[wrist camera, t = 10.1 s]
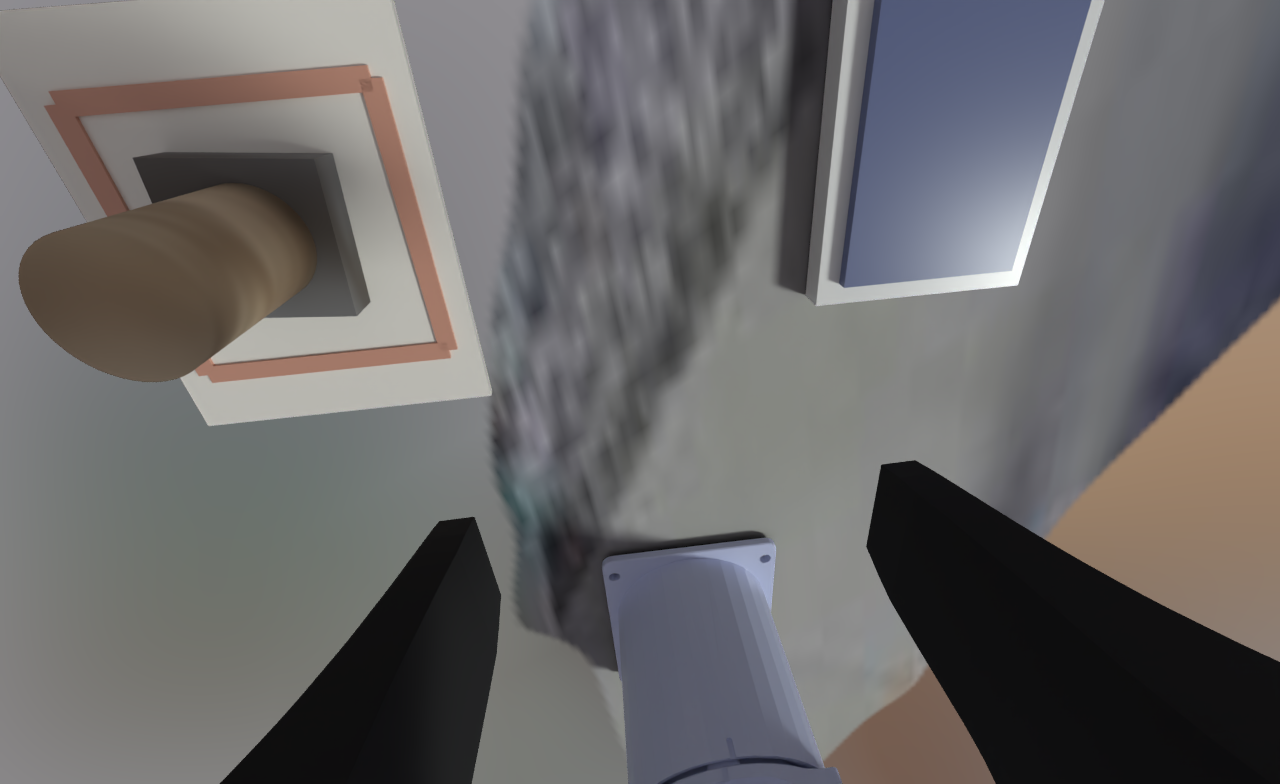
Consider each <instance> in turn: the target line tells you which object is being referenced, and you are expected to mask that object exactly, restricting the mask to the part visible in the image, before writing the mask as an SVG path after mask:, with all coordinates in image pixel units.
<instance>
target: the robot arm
mask: <svg viewBox="0 0 1280 784" xmlns="http://www.w3.org/2000/svg"><path fill="white" fill-rule="evenodd" d="M866 547H867V549H868V552H869V554H870V556H871V559H872V561H873V563H874V566H875V568H876V570H877V573H878V575H879V577H880V579H881V582H882V584H883V586H884V588H885V590H886V592H887V595H888V597H889V599H890V601H891V603H892V604H893V606H894V608H895V609H896V611H897V613H898V615H899V616H900V618H901V620H902V621H903V623H904V625H905V626H906V628H907V630H908V632H909V633H910V635H911V637H912V638H913V640H914V642H915V643H916V645H917V647H918V648H919V650H920V652H921V653H922V655H923V657H924V658H925V660H926V662H927V663H928V665H929V667H930V668H931V670H932V671H933V673H934V675H935V676H936V678H937V679H938V681H939V683H940V685H941V686H942V688H943V689H944V691H945V693H946V695H947V696H948V698H949V700H950V701H951V703H952V705H953V706H954V708H955V710H956V711H957V713H958V715H959V716H960V718H961V719H962V721H963V723H964V725H965V726H966V728H967V730H968V731H969V733H970V735H971V737H972V738H973V740H974V742H975V744H976V746H977V747H978V749H979V751H980V753H981V755H982V756H983V759H984V760H985V762H986V764H987V766H988V768H989V771H990V773H991V775H992V776H993V779H994V781H995V783H996V784H1280V662H1278V661H1276V660H1274V659H1272V658H1270V657H1268V656H1265V655H1263V654H1261V653H1259V652H1257V651H1255V650H1253V649H1250V648H1248V647H1246V646H1244V645H1242V644H1240V643H1238V642H1235V641H1234V640H1231V639H1230V638H1227V637H1225V636H1223V635H1221V634H1219V633H1217V632H1215V631H1213V630H1211V629H1209V628H1207V627H1205V626H1203V625H1201V624H1199V623H1197V622H1195V621H1193V620H1191V619H1189V618H1187V617H1185V616H1183V615H1181V614H1179V613H1177V612H1175V611H1173V610H1171V609H1169V608H1167V607H1165V606H1163V605H1161V604H1159V603H1157V602H1155V601H1153V600H1151V599H1150V598H1148V597H1146V596H1144V595H1142V594H1140V593H1138V592H1136V591H1134V590H1133V589H1131V588H1129V587H1127V586H1125V585H1124V584H1122V583H1120V582H1118V581H1116V580H1114V579H1113V578H1111V577H1109V576H1107V575H1105V574H1104V573H1102V572H1100V571H1098V570H1096V569H1095V568H1093V567H1091V566H1089V565H1087V564H1086V563H1084V562H1082V561H1080V560H1079V559H1077V558H1075V557H1073V556H1072V555H1070V554H1068V553H1067V552H1065V551H1063V550H1061V549H1060V548H1058V547H1056V546H1055V545H1053V544H1051V543H1050V542H1048V541H1046V540H1045V539H1043V538H1041V537H1039V536H1038V535H1036V534H1035V533H1033V532H1031V531H1030V530H1028V529H1026V528H1025V527H1023V526H1021V525H1020V524H1018V523H1016V522H1015V521H1013V520H1012V519H1010V518H1008V517H1007V516H1005V515H1003V514H1002V513H1000V512H999V511H997V510H995V509H994V508H992V507H991V506H989V505H987V504H986V503H984V502H983V501H981V500H979V499H978V498H976V497H975V496H973V495H971V494H970V493H968V492H967V491H965V490H963V489H962V488H960V487H959V486H957V485H955V484H954V483H952V482H951V481H949V480H947V479H946V478H944V477H943V476H941V475H939V474H938V473H936V472H934V471H933V470H931V469H929V468H928V467H926V466H924V465H922V464H921V463H919V462H917V461H915V460H914V461H906V462H898V463H891V464H883V465H881V470H880V475H879V481H878V486H877V491H876V497H875V502H874V508H873V513H872V519H871V524H870V529H869V535H868V540H867V546H866ZM763 555H765V556H763ZM775 557H776V546H775V544H774V541H773V540H772V539H770V538H758V539H749V540H741V541H733V542H724V543H716V544H708V545H699V546H691V547H682V548H674V549H666V550H657V551H649V552H641V553H632V554H624V555H616V556H610V557H607V558H606V559H604V561H603V562H602V571H603V578H604V584H605V590H606V596H607V603H608V609H609V615H610V621H611V628H612V634H613V640H614V647H615V653H616V659H617V665H618V672H619V678H620V680H621V681H622V688H623V704H624V721H625V737H626V754H627V769H628V784H842V781H841V778H840V776H839V773H838V770H837V768H835V767H830V768H825V767H824V764H823V761H822V758H821V755H820V753H819V750H818V747H817V744H816V741H815V738H814V735H813V732H812V730H811V727H810V724H809V721H808V718H807V715H806V712H805V709H804V707H803V704H802V701H801V698H800V695H799V692H798V689H797V686H796V684H795V681H794V678H793V675H792V672H791V669H790V666H789V663H788V660H787V658H786V655H785V652H784V649H783V646H782V643H781V640H780V637H779V635H778V632H777V629H776V626H775V623H774V620H773V617H772V614H771V604H772V592H773V580H774V569H775ZM613 573H617V574H613ZM500 601H501V594H500V591H499V588H498V585H497V582H496V579H495V576H494V573H493V570H492V567H491V564H490V561H489V558H488V555H487V552H486V549H485V547H484V544H483V541H482V538H481V535H480V532H479V529H478V526H477V523H476V520H475V518H474V517H469V518H461V519H454V520H446V521H439V522H438V524H437V525H436V526H435V527H434V528H433V530H432V531H431V532H430V534H429V535H428V536H427V538H426V539H425V540H424V542H423V543H422V545H421V546H420V547H419V548H418V550H417V551H416V553H415V554H414V555H413V556H412V558H411V559H410V560H409V562H408V563H407V565H406V566H405V567H404V569H403V570H402V571H401V573H400V574H399V575H398V577H397V578H396V579H395V581H394V582H393V583H392V585H391V586H390V587H389V589H388V590H387V591H386V592H385V594H384V595H383V596H382V598H381V599H380V601H378V603H377V604H376V605H375V607H374V608H373V609H372V610H371V612H370V613H369V614H368V616H367V617H366V618H365V619H364V621H363V622H362V623H361V625H360V626H359V627H358V628H357V630H356V631H355V632H354V633H353V635H352V636H351V637H350V638H349V640H348V641H347V642H346V643H345V645H344V646H343V647H342V648H341V649H340V651H339V652H338V653H337V654H336V655H335V657H334V658H333V659H332V660H331V661H330V662H329V664H328V665H327V666H326V667H325V668H324V670H323V671H322V672H321V673H320V674H319V676H318V677H317V678H316V679H315V680H314V682H313V683H312V684H311V685H310V686H309V687H308V689H307V690H306V691H305V692H304V693H303V694H302V696H301V697H300V698H299V699H298V700H297V701H296V702H295V704H294V705H293V706H292V707H291V708H290V709H289V710H288V712H287V713H286V714H285V715H284V716H283V717H282V718H281V719H280V720H279V721H278V723H277V724H276V725H275V726H274V727H273V728H272V729H271V730H270V731H269V732H268V733H267V735H266V736H265V737H264V738H263V739H262V740H261V741H260V742H259V743H258V744H257V745H256V746H255V747H254V749H252V750H251V752H250V753H249V754H248V755H247V756H246V757H245V758H244V759H243V760H242V761H241V762H240V763H239V764H238V765H237V766H236V767H235V769H233V770H232V772H231V773H230V774H229V775H228V776H227V777H226V778H225V779H224V780H223V781H222V782H221V783H220V784H472V778H473V773H474V768H475V763H476V757H477V753H478V748H479V742H480V738H481V732H482V727H483V722H484V717H485V712H486V707H487V702H488V696H489V691H490V686H491V681H492V675H493V670H494V665H495V659H496V654H497V642H498V631H499V616H500Z"/></svg>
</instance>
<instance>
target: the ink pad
mask: <svg viewBox="0 0 1280 784" xmlns="http://www.w3.org/2000/svg"><path fill="white" fill-rule="evenodd" d="M1104 1H1105V0H833V3H832V14H831V24H830V35H829V46H828V57H827V68H826V79H825V89H824V100H823V111H822V122H821V133H820V144H819V154H818V165H817V176H816V187H815V198H814V209H813V220H812V230H811V241H810V252H809V263H808V274H807V285H806V295H805V296H806V297H807V298H808V299H810V300H811V301H812V302H813V303H814V304H815V305H816V306H821V305H830V304H840V303H850V302H860V301H869V300H879V299H889V298H898V297H908V296H918V295H927V294H937V293H947V292H956V291H966V290H976V289H985V288H995V287H1005V286H1015V285H1018V282H1019V279H1020V276H1021V273H1022V269H1023V266H1024V263H1025V259H1026V256H1027V253H1028V250H1029V246H1030V243H1031V240H1032V236H1033V233H1034V230H1035V227H1036V223H1037V220H1038V217H1039V214H1040V210H1041V207H1042V204H1043V200H1044V197H1045V194H1046V191H1047V187H1048V184H1049V181H1050V178H1051V174H1052V171H1053V168H1054V164H1055V161H1056V158H1057V155H1058V151H1059V148H1060V145H1061V142H1062V138H1063V135H1064V132H1065V128H1066V125H1067V122H1068V119H1069V115H1070V112H1071V109H1072V106H1073V102H1074V99H1075V96H1076V92H1077V89H1078V86H1079V83H1080V79H1081V76H1082V73H1083V69H1084V66H1085V63H1086V60H1087V56H1088V53H1089V50H1090V47H1091V43H1092V40H1093V37H1094V33H1095V30H1096V27H1097V24H1098V20H1099V17H1100V14H1101V11H1102V7H1103V4H1104Z"/></svg>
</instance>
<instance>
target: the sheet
mask: <svg viewBox="0 0 1280 784" xmlns="http://www.w3.org/2000/svg"><path fill="white" fill-rule="evenodd" d="M0 77H1V78H2V80H3V82H4V84H5V85H6V87H7V89H8V90H9V92H10V94H11V95H12V97H13V99H14V100H15V102H16V104H17V105H18V107H19V109H20V110H21V112H22V114H23V116H24V117H25V119H26V121H27V122H28V124H29V126H30V127H31V129H32V131H33V132H34V134H35V136H36V137H37V139H38V141H39V142H40V144H41V146H42V147H43V149H44V151H45V152H46V154H47V156H48V157H49V159H50V161H51V162H52V164H53V166H54V168H55V169H56V171H57V173H58V174H59V176H60V178H61V179H62V181H63V182H64V184H65V186H66V188H67V189H68V191H69V193H70V194H71V196H72V198H73V199H74V201H75V203H76V204H77V206H78V208H79V210H80V211H81V213H82V215H83V216H84V218H85V220H86V221H87V222H91V221H94V220H98V219H101V218H105V217H108V216H112V215H115V214H119V213H122V212H126V211H129V210H133V209H136V208H140V207H143V206H146V205H150V204H152V202H151V200H150V197H149V195H148V193H147V190H146V188H145V186H144V184H143V181H142V179H141V177H140V174H139V172H138V170H137V167H136V165H135V163H134V160H133V157H139V156H145V155H151V154H156V153H162V152H225V153H333V156H334V160H335V164H336V168H337V172H338V176H339V180H340V184H341V188H342V192H343V195H344V199H345V203H346V207H347V211H348V215H349V219H350V223H351V227H352V231H353V235H354V239H355V243H356V246H357V250H358V254H359V258H360V262H361V266H362V270H363V274H364V278H365V282H366V286H367V290H368V294H369V297H370V301H371V302H370V303H369V304H368V305H367V306H366V307H365V308H364V309H363V310H362V312H361V313H360V314H359V315H358V316H346V317H291V318H263V319H262V320H261V321H259V322H258V323H257V324H255V325H254V326H253V327H251V328H250V329H249V330H247V331H246V332H245V333H243V334H242V335H241V336H239V337H238V338H237V339H235V340H234V341H232V342H231V343H230V344H228V345H227V346H226V347H224V348H223V349H222V350H220V351H219V352H218V353H216V354H215V355H214V356H212V357H211V358H210V359H208V360H207V361H206V362H204V363H203V364H202V365H200V366H199V367H198V368H196V369H195V370H193V371H192V372H191V373H189V374H187V375H185V376H183V377H180V379H181V381H182V382H183V384H184V386H185V387H186V389H187V391H188V392H189V394H190V396H191V397H192V399H193V401H194V403H195V404H196V406H197V408H198V409H199V411H200V413H201V414H202V416H203V418H204V419H205V421H206V423H207V424H208V426H213V425H223V424H232V423H241V422H251V421H260V420H269V419H279V418H287V417H297V416H306V415H316V414H325V413H335V412H343V411H353V410H362V409H371V408H381V407H390V406H400V405H409V404H418V403H428V402H437V401H446V400H456V399H465V398H474V397H484V396H491V395H492V388H491V384H490V380H489V376H488V372H487V368H486V364H485V360H484V356H483V352H482V348H481V345H480V340H479V336H478V332H477V328H476V324H475V320H474V317H473V313H472V308H471V305H470V301H469V297H468V293H467V289H466V285H465V281H464V277H463V273H462V269H461V265H460V261H459V257H458V253H457V249H456V245H455V241H454V237H453V233H452V229H451V225H450V221H449V217H448V213H447V209H446V206H445V201H444V197H443V193H442V190H441V185H440V181H439V177H438V173H437V169H436V166H435V161H434V158H433V154H432V150H431V146H430V142H429V138H428V134H427V130H426V126H425V122H424V118H423V114H422V110H421V106H420V102H419V98H418V94H417V90H416V86H415V82H414V78H413V74H412V70H411V66H410V62H409V58H408V54H407V50H406V46H405V42H404V38H403V35H402V30H401V26H400V22H399V18H398V14H397V11H396V7H395V2H394V0H131V1H117V2H104V3H91V4H78V5H65V6H52V7H39V8H26V9H13V10H0Z"/></svg>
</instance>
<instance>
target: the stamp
mask: <svg viewBox="0 0 1280 784" xmlns="http://www.w3.org/2000/svg"><path fill="white" fill-rule="evenodd" d="M133 160H134V163H135V165H136V167H137V170H138V172H139V174H140V177H141V179H142V181H143V184H144V186H145V188H146V190H147V193H148V195H149V197H150V200H151V202H152V204H150V205H146V206H143V207H140V208H136V209H133V210H129V211H126V212H122V213H119V214H115V215H112V216H108V217H105V218H101V219H98V220H94V221H91V222H87V223H84V224H81V225H77V226H74V227H70V228H67V229H63V230H60V231H56V232H53V233H51V234H48V235H45V236H43V237H41V238H40V239H38V240H37V241H35V242H34V243H33V244H32V245H31V246H30V247H29V248H28V249H27V251H26V252H25V254H24V255H23V257H22V260H21V263H20V267H19V285H20V290H21V294H22V296H23V299H24V301H25V304H26V306H27V308H28V310H29V311H30V313H31V315H32V316H33V318H34V319H35V321H36V322H37V323H38V325H39V326H40V327H41V328H42V329H43V331H44V332H45V333H46V334H47V335H48V336H49V337H50V338H51V339H52V340H53V341H54V342H55V343H57V344H58V345H59V346H60V347H62V348H63V349H64V350H65V351H67V352H68V353H69V354H71V355H72V356H74V357H75V358H77V359H79V360H80V361H82V362H84V363H85V364H87V365H89V366H91V367H93V368H95V369H97V370H100V371H102V372H105V373H107V374H110V375H113V376H117V377H120V378H124V379H129V380H134V381H142V382H163V381H169V380H174V379H177V378H180V377H183V376H185V375H187V374H189V373H191V372H192V371H193V370H195V369H196V368H198V367H199V366H200V365H202V364H203V363H204V362H206V361H207V360H208V359H210V358H211V357H212V356H214V355H215V354H216V353H218V352H219V351H220V350H222V349H223V348H224V347H226V346H227V345H228V344H230V343H231V342H232V341H234V340H235V339H237V338H238V337H239V336H241V335H242V334H243V333H245V332H246V331H247V330H249V329H250V328H251V327H253V326H254V325H255V324H257V323H258V322H259V321H261V320H262V319H263V318H291V317H346V316H358V315H359V314H360V313H361V312H362V310H363V309H364V308H365V307H366V306H367V305H368V304H369V303H370V302H371V301H370V297H369V294H368V290H367V286H366V282H365V278H364V274H363V270H362V266H361V262H360V258H359V254H358V250H357V246H356V243H355V239H354V235H353V231H352V227H351V223H350V219H349V215H348V211H347V207H346V203H345V199H344V195H343V192H342V188H341V184H340V180H339V176H338V172H337V168H336V164H335V160H334V156H333V153H225V152H162V153H156V154H151V155H145V156H139V157H133Z"/></svg>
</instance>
